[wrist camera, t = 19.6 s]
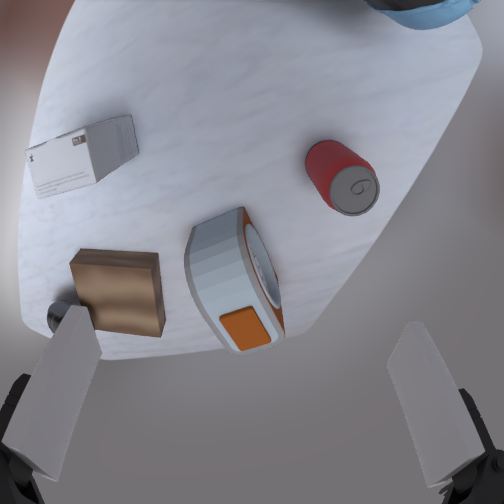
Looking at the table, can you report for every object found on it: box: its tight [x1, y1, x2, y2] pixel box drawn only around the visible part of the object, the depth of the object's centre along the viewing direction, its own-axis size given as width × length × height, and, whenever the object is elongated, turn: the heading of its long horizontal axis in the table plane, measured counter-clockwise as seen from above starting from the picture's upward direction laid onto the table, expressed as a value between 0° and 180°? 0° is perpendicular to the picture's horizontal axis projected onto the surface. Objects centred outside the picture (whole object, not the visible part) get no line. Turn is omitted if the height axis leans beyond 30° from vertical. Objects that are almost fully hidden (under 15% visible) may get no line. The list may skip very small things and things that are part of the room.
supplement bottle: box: [47, 300, 95, 333], centre depth 47 cm, size 7×7×12 cm
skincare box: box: [25, 115, 139, 199], centre depth 32 cm, size 8×6×15 cm
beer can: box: [305, 140, 380, 216], centre depth 36 cm, size 7×7×12 cm
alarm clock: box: [184, 207, 285, 355], centre depth 42 cm, size 15×8×14 cm, turn 23°
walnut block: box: [69, 249, 166, 338], centre depth 49 cm, size 14×14×5 cm
